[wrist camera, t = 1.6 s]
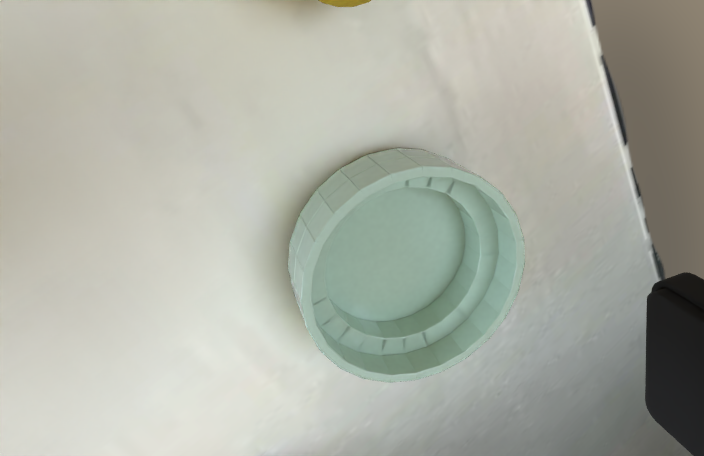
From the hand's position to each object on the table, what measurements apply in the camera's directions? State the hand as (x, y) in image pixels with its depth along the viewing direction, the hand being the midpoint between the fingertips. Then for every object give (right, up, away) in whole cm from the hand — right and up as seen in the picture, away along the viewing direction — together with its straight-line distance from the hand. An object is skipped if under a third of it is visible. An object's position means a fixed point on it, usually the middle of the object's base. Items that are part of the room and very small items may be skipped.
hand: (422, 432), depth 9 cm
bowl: (+1, +2, +27) cm, 27 cm away
